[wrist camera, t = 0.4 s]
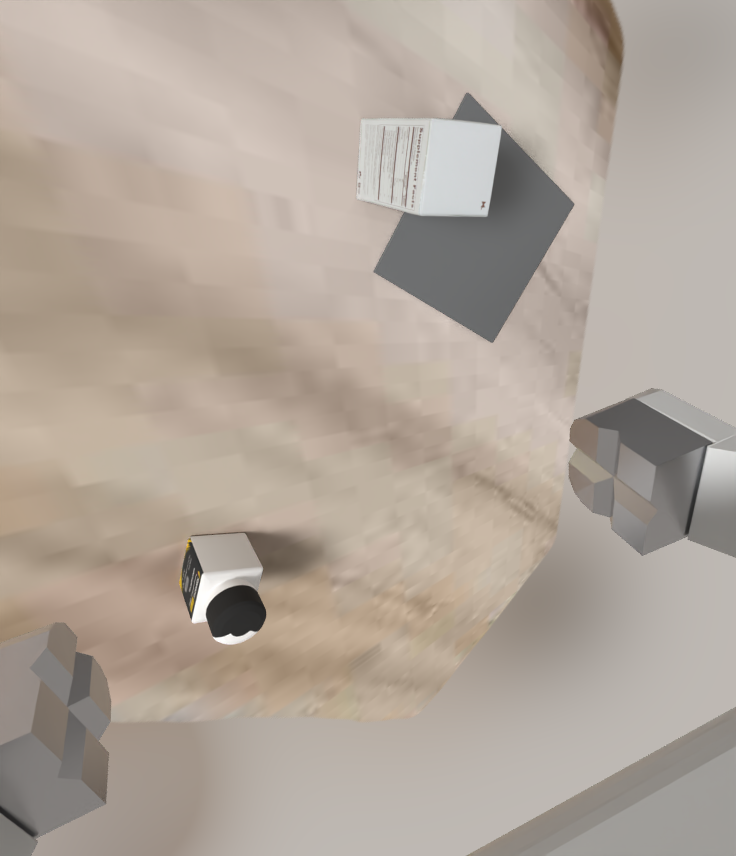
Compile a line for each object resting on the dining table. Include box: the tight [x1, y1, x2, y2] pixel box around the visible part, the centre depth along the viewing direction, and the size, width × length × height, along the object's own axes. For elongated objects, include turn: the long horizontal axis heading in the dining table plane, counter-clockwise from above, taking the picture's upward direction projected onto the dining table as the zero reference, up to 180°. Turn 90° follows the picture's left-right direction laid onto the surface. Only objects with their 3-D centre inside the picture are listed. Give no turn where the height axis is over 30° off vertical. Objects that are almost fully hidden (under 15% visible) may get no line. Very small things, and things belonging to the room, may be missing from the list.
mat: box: [374, 93, 574, 343], centre depth 64 cm, size 22×20×1 cm
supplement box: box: [356, 118, 502, 217], centre depth 49 cm, size 7×7×13 cm
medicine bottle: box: [179, 533, 266, 644], centre depth 62 cm, size 7×7×12 cm
